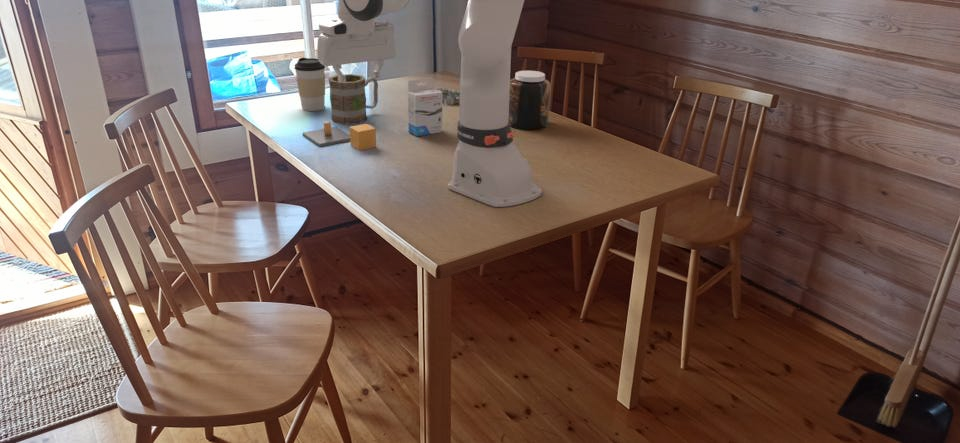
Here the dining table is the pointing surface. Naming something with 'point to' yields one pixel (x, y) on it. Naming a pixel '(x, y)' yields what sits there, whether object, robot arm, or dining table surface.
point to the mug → (350, 98)
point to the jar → (529, 101)
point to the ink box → (424, 107)
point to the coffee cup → (311, 83)
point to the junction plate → (327, 135)
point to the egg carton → (450, 96)
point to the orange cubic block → (362, 136)
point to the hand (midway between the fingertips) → (359, 79)
